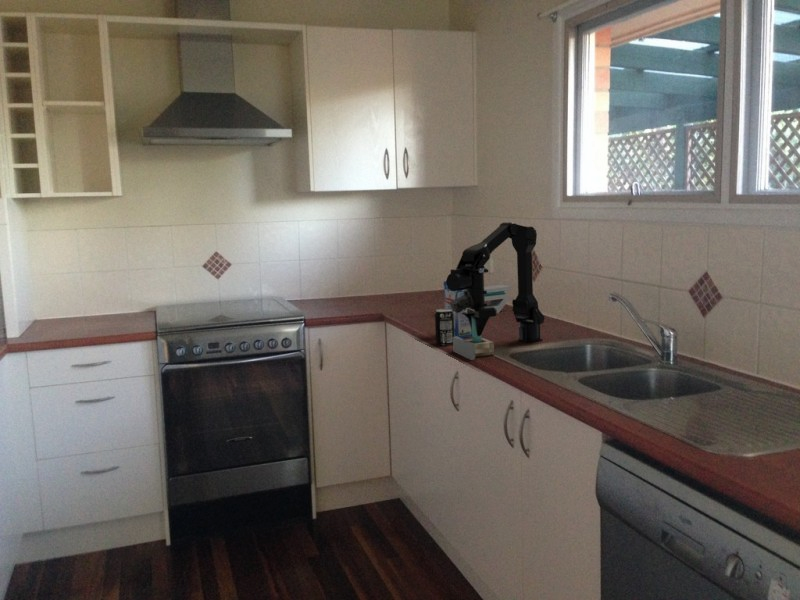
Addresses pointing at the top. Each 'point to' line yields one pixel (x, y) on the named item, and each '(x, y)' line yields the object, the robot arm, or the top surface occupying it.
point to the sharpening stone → (497, 296)
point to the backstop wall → (464, 348)
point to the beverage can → (444, 326)
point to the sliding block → (483, 347)
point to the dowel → (475, 334)
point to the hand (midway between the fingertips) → (476, 335)
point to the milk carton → (460, 320)
